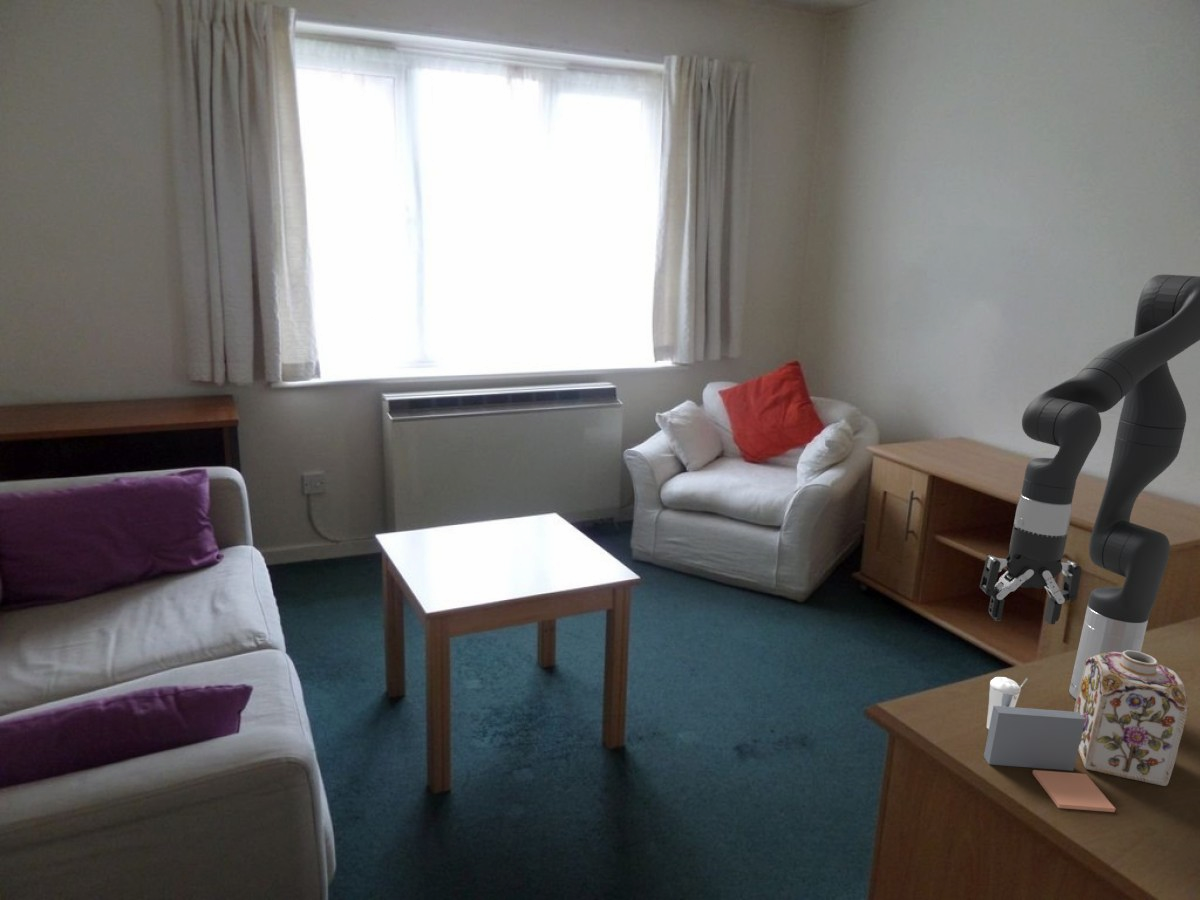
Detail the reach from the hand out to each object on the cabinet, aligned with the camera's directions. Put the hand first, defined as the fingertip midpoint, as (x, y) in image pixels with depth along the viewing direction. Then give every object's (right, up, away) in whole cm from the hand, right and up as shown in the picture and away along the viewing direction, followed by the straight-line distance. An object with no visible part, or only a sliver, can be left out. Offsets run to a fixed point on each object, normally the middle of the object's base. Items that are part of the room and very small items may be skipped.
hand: (1022, 620), depth 133 cm
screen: (-1, -22, -4) cm, 22 cm away
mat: (+2, -23, -10) cm, 26 cm away
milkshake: (-1, -20, +5) cm, 20 cm away
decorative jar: (+15, -22, -1) cm, 26 cm away
